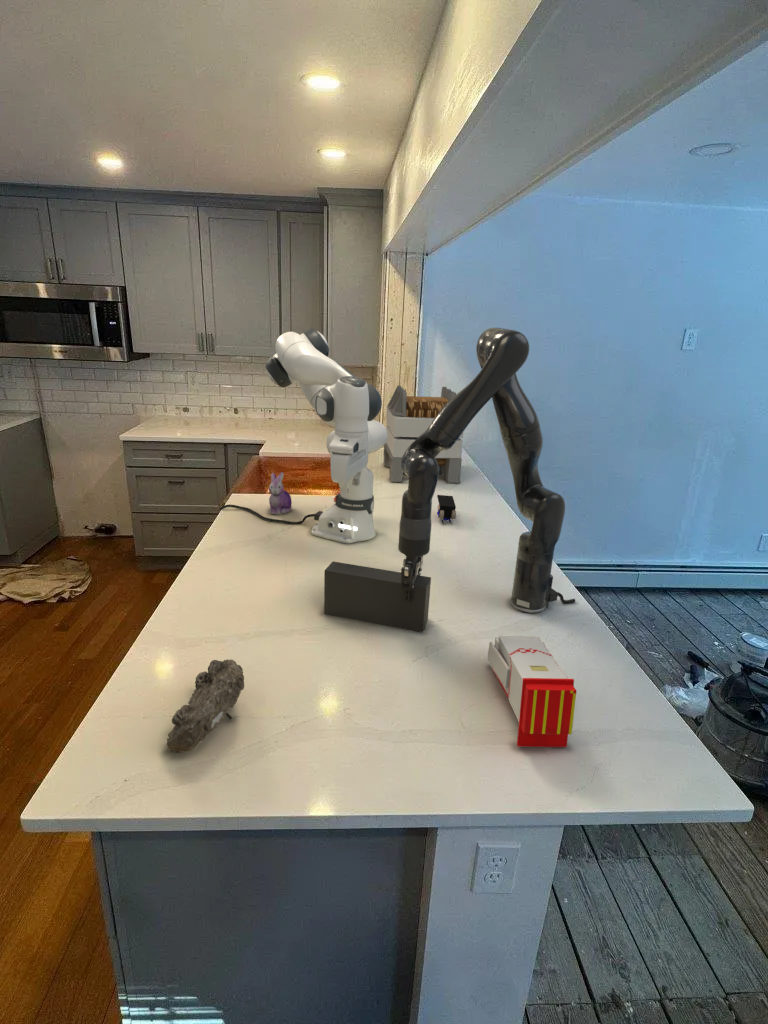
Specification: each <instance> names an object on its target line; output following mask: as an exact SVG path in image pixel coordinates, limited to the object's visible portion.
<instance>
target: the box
mask: <svg viewBox="0 0 768 1024" xmlns="http://www.w3.org/2000/svg"><path fill="white" fill-rule="evenodd" d="M323 573H324V578H323V579H324V581H323V582H324V583H323V585H324V586H323V587H324V588H323V590H324V591H323V594H324V596H323V597H324V598H323V614H324V615H327V616H328V615H329V616H334V617H340V618H344V619H349V620H354V621H361V622H366V623H370V624H376V625H382V626H386V627H387V626H388V627H392V628H398V629H403V630H408V631H412V632H413V631H414V632H419V633H424V631H425V629H426V626H427V624H428V622H429V609H430V596H431V584H432V582H431V581H432V577H430V576H426V575H417V579H416V580H415V581H414V588H413V600H412V602H411V603H409V602H404V601H403V592H404V589H401V571H394V570H389V569H383V568H376V567H370V566H364V565H358V564H352V563H351V564H350V563H345V562H340V561H332V562H330V563H329V564H328V566H327V567H326V568H325V569H324V572H323ZM412 576H414V574H413V575H412ZM406 583H408V584H409V582H406Z"/></svg>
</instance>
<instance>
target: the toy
mask: <svg viewBox="0 0 768 1024" xmlns="http://www.w3.org/2000/svg"><path fill="white" fill-rule="evenodd" d="M488 643H489V644H488V651H487V658H486V659H487V662H488V664H489V666H490V668H491V669H492V672H493V674H494V675H495V677H496V679H497V681H498V682H499V684H500V687H501V688H502V691H503V692H504V694H505V697H507V699H508V702H509V705H510V706H511V709H512V710H513V713H514V714H515V717H516V720H517V721H518V728H517V729H518V730H517V741H516V746H517V747H520V748H521V747H522V748H523V747H525V748H527V747H529V748H531V747H532V748H533V747H534V748H545V747H546V748H567V747H568V740H569V735H572V733H573V725H574V716H575V708H576V700H577V689H576V687H575V686H574V685H575V679H574V678H569V677H568V676H567V675H566V673H565V672H564V670H563V669H562V668H561V667H560V665H559V663H558V662H557V661H556V659H555V658H554V656H553V654H552V653H551V652H550V650H549V649H548V648H547V646H546V644H545V642H544V641H543V640H542V639H541V638H540V636H534V635H533V636H532V635H530V636H527V635H526V636H525V635H524V636H523V635H498V637H497V636H496V637H494V643H493V641H489V642H488Z"/></svg>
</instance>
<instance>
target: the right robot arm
mask: <svg viewBox="0 0 768 1024" xmlns="http://www.w3.org/2000/svg"><path fill="white" fill-rule="evenodd" d="M475 350H476V351H475V352H476V358H477V361H478V364H479V366H480V371H479V372H478V374H476V376H475V377H474V378H473V379H472V380H471V381H470V382H469V384H467V385H466V386H465V387H464V388H462V389H461V390H460V391H459V392H457V393H456V395H455V396H454V397H453V398H452V399H451V400H449V401H448V402H447V403H446V404H445V406H444V407H443V408H442V409H441V410H440V412H439V413H438V414H437V416H436V417H435V419H434V420H433V421H432V423H431V424H430V426H429V427H428V429H427V430H426V431H425V432H424V433H423V434H421V435H420V436H419V437H418V438H417V439H416V440H415V441H414V442H413V443H412V444H411V445H410V446H409V447H408V448H407V450H406V451H405V453H404V454H403V456H402V459H401V469H402V471H403V474H405V475H406V476H407V477H408V485H407V489H406V490H405V491H404V492H403V494H402V498H401V513H400V518H399V528H398V544H397V545H398V547H397V548H398V552H400V553H401V554H403V555H404V556H405V558H404V559H403V562H402V567H401V568H400V572H401V589H404V592H403V601H404V602H409V603H411V602H412V600H413V588H414V581H415V580H416V579H417V575H420V576H422V574H421V572H422V571H423V563H424V556H427V555H428V554H429V553H430V547H431V536H432V535H431V533H432V508H433V507H432V506H433V497H434V494H435V491H436V488H437V485H438V481H439V473H440V471H439V468H438V463H437V461H436V459H435V457H436V456H437V455H438V454H439V453H440V452H441V451H443V450H449V449H450V448H451V447H452V446H453V445H454V444H455V442H456V441H457V440H458V438H459V437H460V436H461V434H462V433H463V434H464V432H465V430H466V429H467V427H468V426H469V425H470V423H471V422H472V421H473V420H474V418H475V417H476V416H477V415H478V414H479V412H480V411H481V410H482V409H483V408H484V407H485V405H486V404H487V403H488V402H490V400H491V399H492V404H493V407H494V412H495V415H496V420H497V422H498V426H499V431H500V435H501V439H502V443H503V446H504V449H505V451H506V455H507V460H508V464H509V466H510V471H511V474H512V479H513V485H514V492H515V499H516V505H517V509H518V511H519V513H520V514H521V515H522V516H523V517H524V518H525V519H527V520H529V521H531V522H532V527H531V530H529V531H525V532H522V533H521V534H520V535H519V538H518V546H517V553H516V561H515V568H514V574H513V575H514V576H513V582H512V590H511V597H510V605H511V606H512V607H513V608H514V609H516V610H518V611H520V612H522V613H523V612H524V613H527V614H538V613H542V612H544V611H545V610H546V609H548V608H549V606H550V602H551V603H552V602H557V601H558V597H559V600H560V602H561V604H565V605H566V604H567V605H568V604H572V603H576V598H571V599H565V598H564V595H563V594H562V593H561V592H558V591H556V590H555V589H553V588H552V587H553V580H554V576H553V575H552V574H551V572H552V567H553V561H554V554H555V547H556V544H557V543H558V542H559V540H560V536H561V532H562V528H563V523H564V518H565V513H566V502H565V498H564V497H563V496H562V495H561V494H559V493H557V492H555V491H553V490H551V489H549V488H547V487H545V486H544V484H543V482H542V480H541V479H542V478H541V476H540V472H539V467H538V466H539V460H540V458H541V457H540V456H541V455H542V450H543V445H544V438H543V433H542V429H541V425H540V420H539V417H538V414H537V412H536V410H535V408H534V406H533V404H532V402H531V401H530V399H529V398H528V396H527V395H526V393H525V392H524V390H523V388H522V386H521V384H520V382H519V379H518V376H517V372H519V371H520V369H521V368H522V367H523V366H524V364H525V363H526V361H527V359H528V357H529V354H530V343H529V340H528V338H527V336H526V335H525V334H523V332H520V331H518V330H515V329H509V328H503V327H489V328H486V329H485V330H483V331H482V332H481V334H480V335H479V337H478V339H477V342H476V349H475ZM463 431H464V432H463ZM413 574H414V576H412V575H413ZM406 582H409V584H408V583H406Z"/></svg>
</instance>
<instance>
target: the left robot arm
mask: <svg viewBox="0 0 768 1024" xmlns="http://www.w3.org/2000/svg"><path fill="white" fill-rule="evenodd" d="M274 347H275V348H274V349H275V353H274V354H273V356H270V357H269V358H268V359H267V361H266V362H265V366H264V367H265V370H266V375H267V377H268V378H269V380H270V381H271V382H272V383H273V384H275V385H277V386H279V388H287V387H289V386H291V385H292V384H293V383H294V382H297V383H298V386H299V387H300V390H301V392H302V393H303V395H304V396H305V398H306V400H307V401H308V403H309V404H310V405H311V407H312V408H313V409H314V411H315V412H316V415H317V416H318V417H319V418H320V419H321V421H323V423H325V425H328V426H330V427H333V428H334V429H333V430H332V431H331V432H330V433H328V435H327V437H326V442H325V445H326V449H327V452H328V454H329V455H330V463H329V465H330V478H331V480H332V482H333V483H337V484H338V486H339V491H338V492H337V494H336V495H335V496H334V497H333V502H334V504H333V505H331V506H329V507H328V508H326V509H325V510H318V511H317V512H315V513H309V514H307V515H304V517H303V518H302V520H299V521H289V520H285V519H275V518H269V517H266V516H264V515H262V514H260V513H259V512H257V511H255V510H253V509H251V508H249V507H246V506H242V505H241V506H240V505H236V504H225V505H223V506H221V507H220V508H219V511H222V510H224V509H226V508H234V509H239V510H243V511H244V510H245V511H247V512H249V513H252V514H254V515H255V516H257V517H258V518H259V519H262V520H263V521H268V522H271V523H281V524H287V525H302V524H303V523H305V522H306V520H307V519H308V518H313V520H314V521H316V522H317V523H315V524H314V525H313V526H312V528H311V530H310V533H311V536H315V537H319V538H323V539H326V540H330V541H336V542H339V543H343V544H352V543H357V542H365V541H368V540H372V539H373V538H375V537H376V535H377V532H376V528H375V523H374V513H373V512H374V509H375V496H374V473H373V471H372V470H371V469H369V468H368V465H369V464H368V463H369V455H370V454H372V453H373V454H374V453H376V452H378V451H379V450H380V449H382V448H384V445H385V444H386V442H387V438H388V434H387V430H386V426H385V425H384V424H383V423H382V422H380V421H378V420H375V418H376V417H377V416H378V415H379V413H380V412H381V410H382V405H383V401H382V400H383V399H382V397H381V394H380V392H379V390H378V389H377V388H376V387H375V386H374V385H373V384H370V383H368V382H367V381H366V380H365V379H363V378H361V377H358V376H356V375H355V374H354V373H353V372H351V371H350V370H349V369H348V368H346V367H345V366H344V365H342V364H341V363H339V362H337V361H336V360H335V359H332V358H330V357H329V354H330V348H329V343H328V341H327V338H326V337H325V336H324V335H323V334H322V332H320V331H318V330H317V329H316V328H309V329H306V330H304V331H303V332H302V333H301V334H299V333H298V332H295V331H286V332H284V333H282V334H281V335H279V336H278V338H277V339H276V342H275V346H274Z"/></svg>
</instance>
